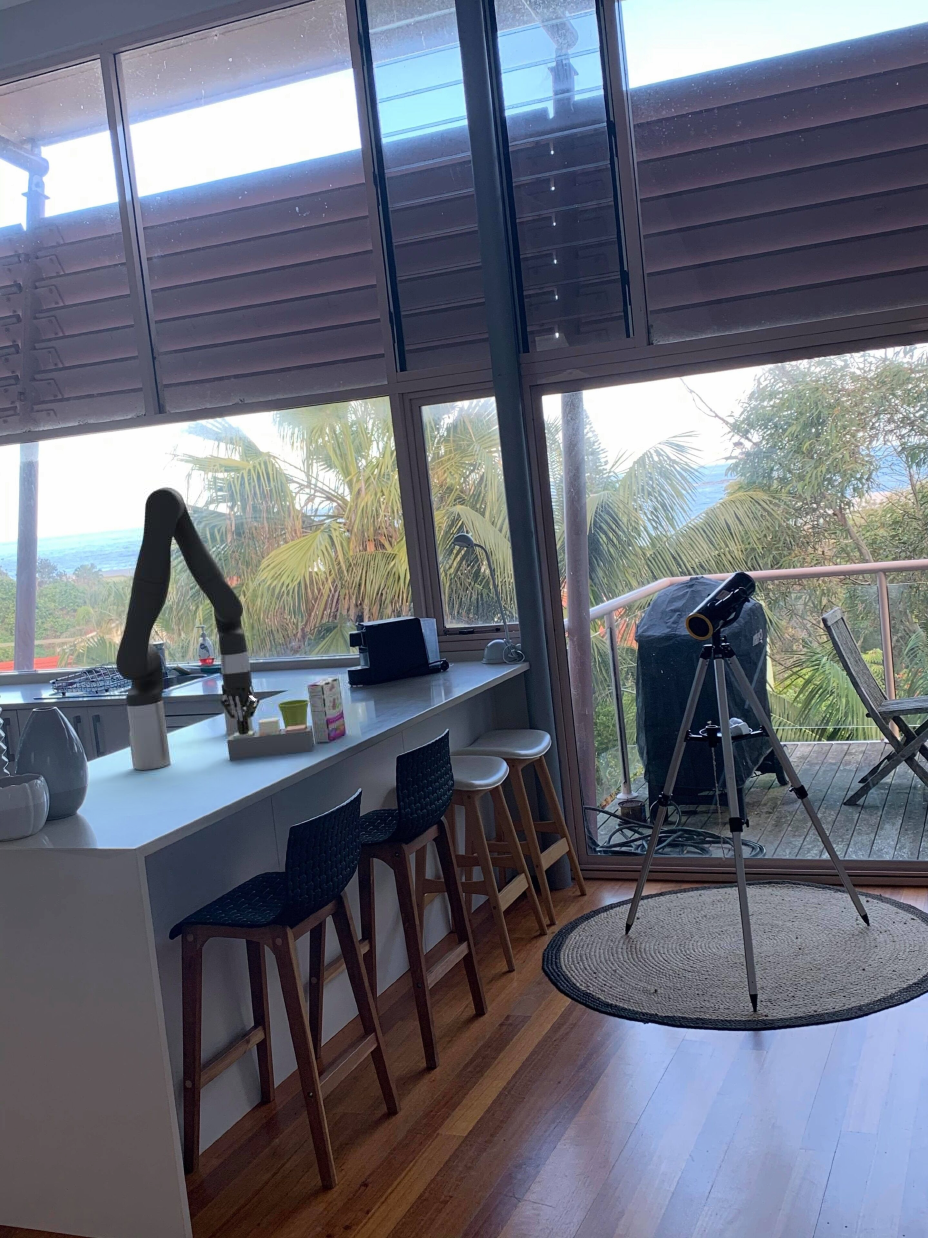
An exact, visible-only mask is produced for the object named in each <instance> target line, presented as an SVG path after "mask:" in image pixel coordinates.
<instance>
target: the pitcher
mask: <svg viewBox="0 0 928 1238" xmlns="http://www.w3.org/2000/svg"><path fill="white" fill-rule="evenodd" d="M250 690H251V692H252V696H253V697H254V698H255V692H254V686H253V684H252V685H251V686H250ZM221 692H222V700H224V699H225V698H226V697H227V696H226V692H227V690H226V689H224V686H223V683H222V684H221ZM233 713H234V712H233ZM223 714H224V720H225V728H226V729H225V730H226V731H225V734H224V735H226V736H230V735H234V734H235V733H239V732H238V726H237V721H236V720H235V719H234V718H231V717H230V716H229V714H228V713H227V711H226V710H225V708H224V707H223ZM252 718H253V717H250V718H249V719H248V725H249V731H254V732H255V728H254V726H253V720H252Z"/></svg>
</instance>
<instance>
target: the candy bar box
mask: <svg viewBox="0 0 928 1238" xmlns="http://www.w3.org/2000/svg"><path fill="white" fill-rule="evenodd" d="M307 692H308V699H309V708H310V714H311V715H310V716H311V720H312V721H311V723H312V731H313V739H314V744H321V743H322V744H324V743H325V744H326V743H332V742H334V741H335V740H337V739H339V738H341V737H343V736H345V735H346V734H347V730H346V722H345V717H344V716H345V715H344V708H343V707H344V706H343V700H342V692H341V686H340V678H339V677H329V678H328V677H326V678H324V679H323V678H322V679H321V680H317V681H315V682H313V683H311V684H309V685H307Z"/></svg>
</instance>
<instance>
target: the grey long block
mask: <svg viewBox="0 0 928 1238" xmlns="http://www.w3.org/2000/svg"><path fill="white" fill-rule="evenodd" d="M286 729H287V728H286ZM286 729H285V728H280V733H278V732H275V733H271V735H267V734H260V733H259V731H254V736H253V737H245V738H236V739H233V736H234V735H229V737H228V739H227V741H226V742H227V750H228V757H229V761H231V762H232V761H238V760H248V759H254V758H256V759H257V758H263V757H272V756H281V755H290V754H297V753H306V752H313V751H314V748H315V738H314V731H313V724H311V725H307V726H306V730H305V731H296V732H288V733H286Z"/></svg>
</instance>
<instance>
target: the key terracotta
mask: <svg viewBox="0 0 928 1238" xmlns="http://www.w3.org/2000/svg"><path fill="white" fill-rule="evenodd" d="M305 730H306V725H299V726H290V727H287V729H286V733H288V732H296V731H305Z"/></svg>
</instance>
